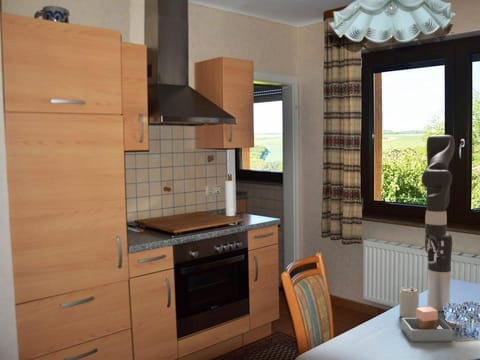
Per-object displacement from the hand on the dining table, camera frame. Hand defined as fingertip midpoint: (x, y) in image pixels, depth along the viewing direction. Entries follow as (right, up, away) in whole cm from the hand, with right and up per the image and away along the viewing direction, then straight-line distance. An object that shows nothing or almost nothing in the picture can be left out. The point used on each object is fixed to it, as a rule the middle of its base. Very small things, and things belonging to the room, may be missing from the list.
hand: (434, 264), depth 185 cm
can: (-4, -25, +16) cm, 30 cm away
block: (-4, -26, -3) cm, 26 cm away
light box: (-4, -20, -3) cm, 21 cm away
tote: (-4, -27, -3) cm, 27 cm away
